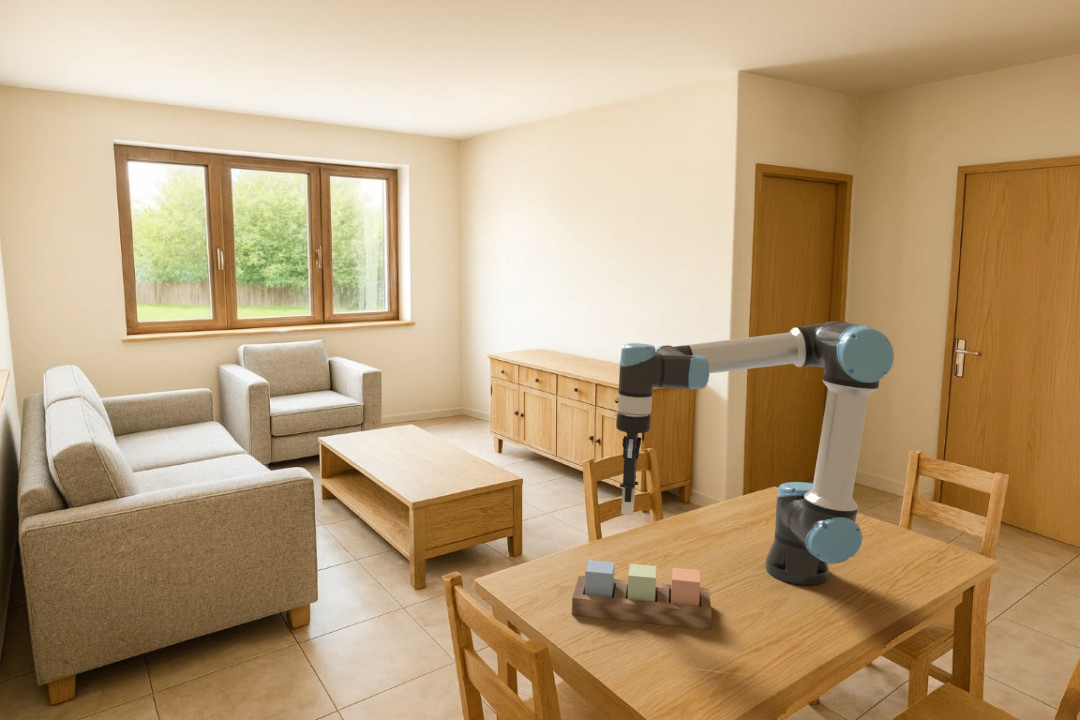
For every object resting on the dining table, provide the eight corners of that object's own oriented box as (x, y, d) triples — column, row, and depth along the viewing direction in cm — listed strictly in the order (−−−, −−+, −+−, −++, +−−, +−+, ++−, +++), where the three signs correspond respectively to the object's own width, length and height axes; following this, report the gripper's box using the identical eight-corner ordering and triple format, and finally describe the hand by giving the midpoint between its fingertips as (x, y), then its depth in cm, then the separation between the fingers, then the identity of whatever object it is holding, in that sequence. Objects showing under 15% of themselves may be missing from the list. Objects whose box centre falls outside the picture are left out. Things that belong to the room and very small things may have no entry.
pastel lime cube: (655, 595, 159) (656, 566, 158) (654, 607, 154) (655, 578, 153) (628, 592, 161) (629, 563, 160) (627, 605, 155) (628, 575, 154)
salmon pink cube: (697, 599, 158) (699, 570, 157) (698, 612, 152) (700, 582, 151) (670, 596, 159) (672, 567, 158) (670, 609, 153) (672, 579, 152)
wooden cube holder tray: (708, 604, 160) (709, 588, 159) (710, 629, 149) (711, 612, 149) (578, 591, 166) (578, 575, 165) (571, 614, 155) (572, 597, 154)
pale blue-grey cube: (613, 590, 161) (614, 562, 160) (611, 603, 155) (612, 573, 154) (587, 588, 162) (588, 559, 161) (584, 600, 156) (585, 571, 155)
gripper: (619, 405, 163) (613, 502, 166) (614, 417, 150) (607, 522, 154) (652, 408, 161) (645, 505, 165) (649, 420, 149) (642, 526, 152)
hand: (627, 513), depth 159 cm, fingers closed
